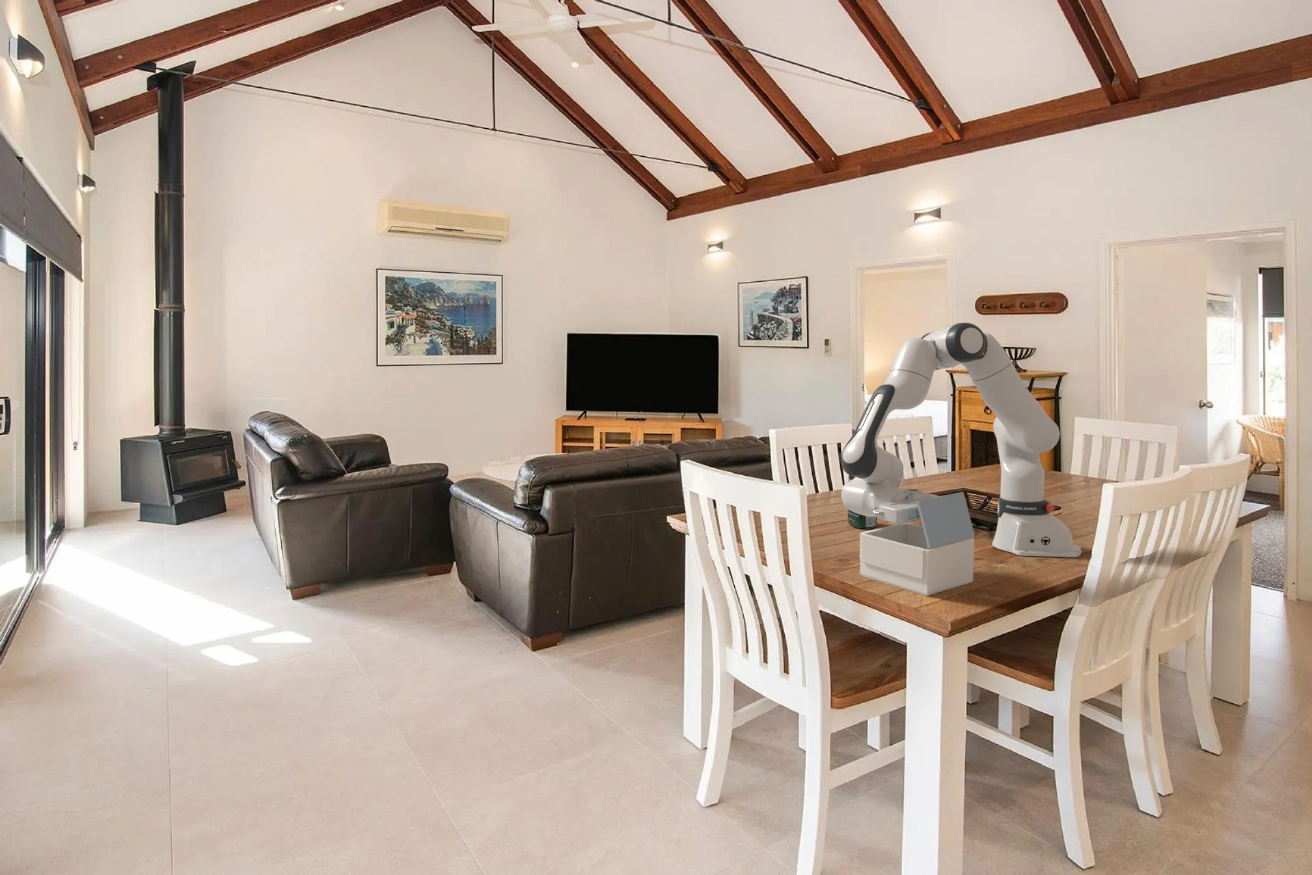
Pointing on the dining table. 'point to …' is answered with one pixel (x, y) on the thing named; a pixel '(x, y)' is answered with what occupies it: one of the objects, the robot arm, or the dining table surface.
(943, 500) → the lid flap
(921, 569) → the carton
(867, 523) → the coffee jar
